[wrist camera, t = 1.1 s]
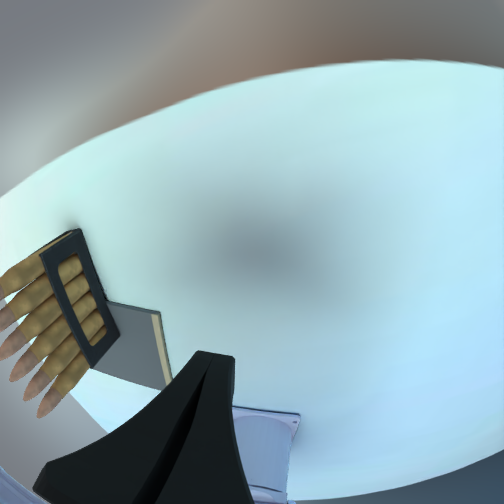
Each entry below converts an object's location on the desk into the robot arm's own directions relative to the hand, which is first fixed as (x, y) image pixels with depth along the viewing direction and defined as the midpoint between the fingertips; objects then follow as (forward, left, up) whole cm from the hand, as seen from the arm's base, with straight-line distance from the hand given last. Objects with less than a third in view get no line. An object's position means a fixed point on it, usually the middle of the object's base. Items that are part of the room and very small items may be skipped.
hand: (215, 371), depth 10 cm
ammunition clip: (-5, +14, -10) cm, 18 cm away
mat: (-12, +14, -10) cm, 21 cm away
